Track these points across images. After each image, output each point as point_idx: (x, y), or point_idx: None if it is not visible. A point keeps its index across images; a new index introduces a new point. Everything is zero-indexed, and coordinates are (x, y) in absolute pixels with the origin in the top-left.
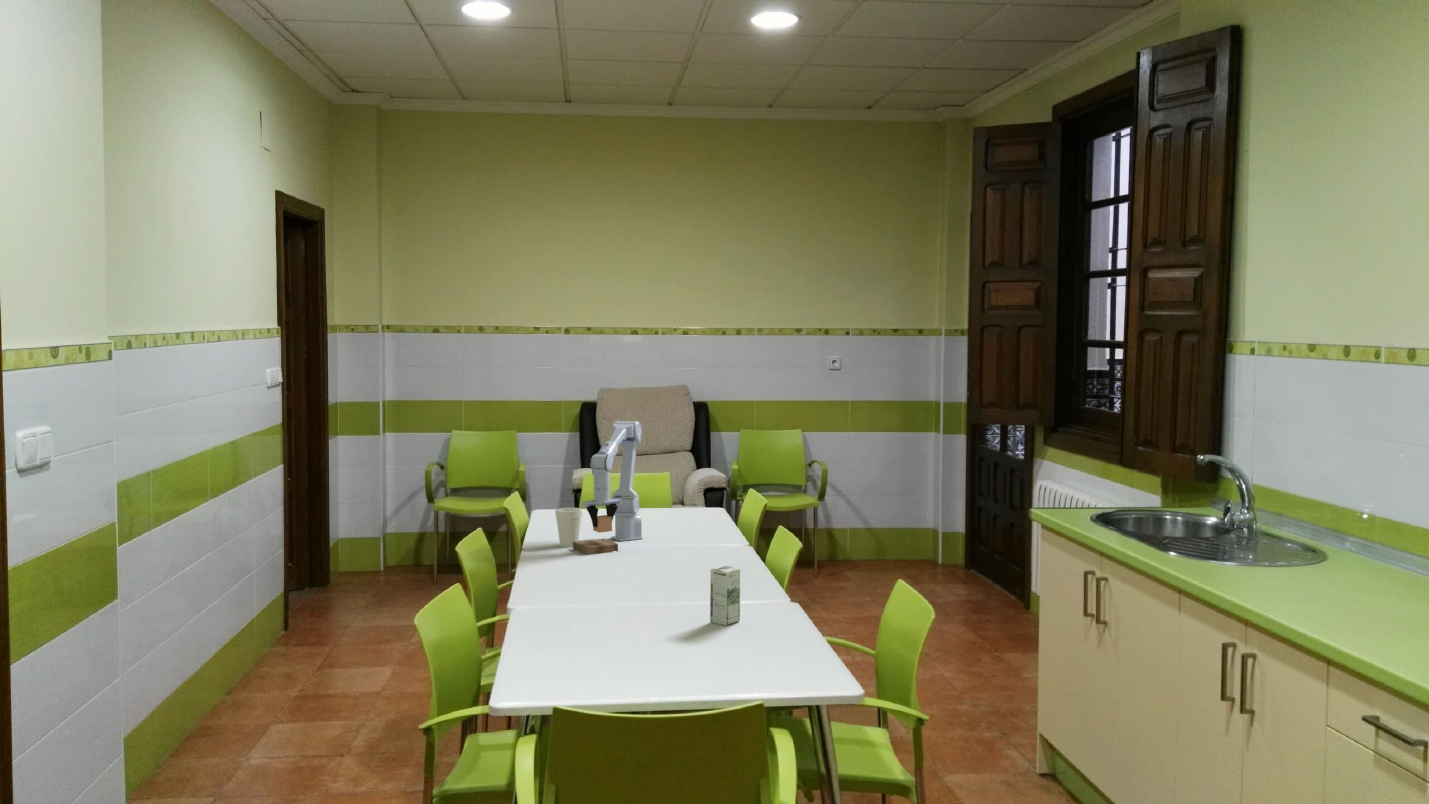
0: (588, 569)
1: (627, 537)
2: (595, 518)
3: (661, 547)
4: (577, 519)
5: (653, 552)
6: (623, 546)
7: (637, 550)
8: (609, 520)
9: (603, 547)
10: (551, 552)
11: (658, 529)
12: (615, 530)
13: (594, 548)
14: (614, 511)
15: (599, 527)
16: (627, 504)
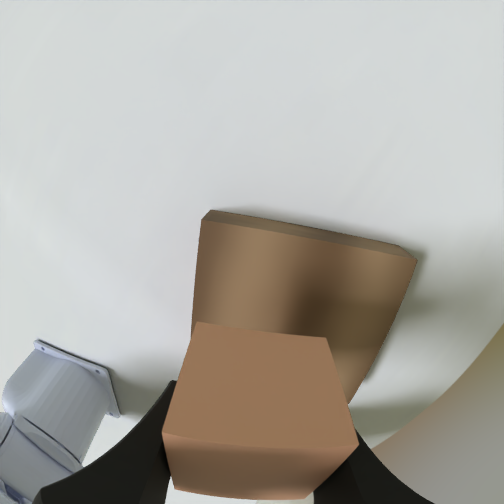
0: (498, 37)
1: (75, 367)
2: (365, 456)
3: (21, 156)
4: (308, 502)
5: (93, 66)
6: (127, 290)
7: (116, 154)
8: (206, 405)
9: (312, 235)
10: (429, 365)
11: (5, 378)
12: (100, 421)
13: (370, 247)
14: (94, 478)
15: (333, 367)
16: (12, 464)
